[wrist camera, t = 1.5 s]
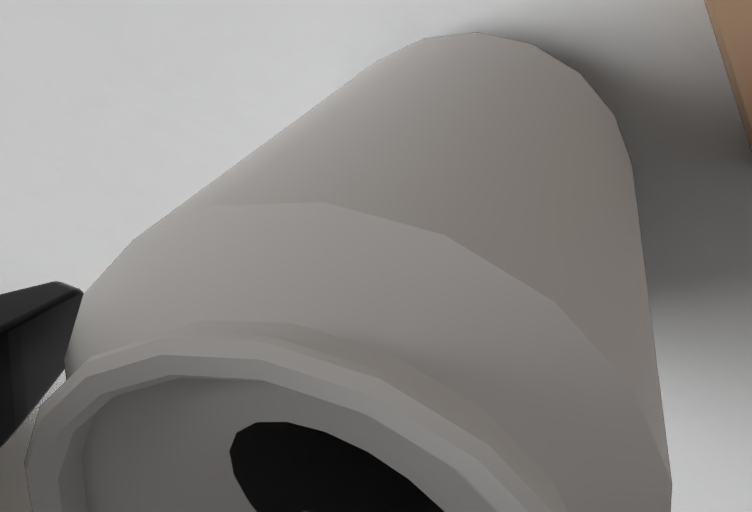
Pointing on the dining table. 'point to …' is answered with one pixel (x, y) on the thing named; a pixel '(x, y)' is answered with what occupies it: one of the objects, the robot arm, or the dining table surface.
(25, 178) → the dining table surface
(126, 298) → the can
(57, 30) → the dining table surface
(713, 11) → the walnut block
